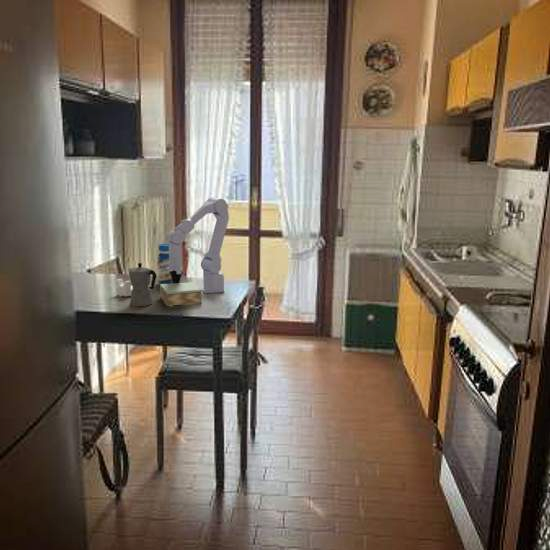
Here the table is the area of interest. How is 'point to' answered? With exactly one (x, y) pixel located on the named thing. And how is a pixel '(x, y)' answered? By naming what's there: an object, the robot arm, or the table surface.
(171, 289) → the lid
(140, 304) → the coffeepot
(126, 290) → the bracket
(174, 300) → the box
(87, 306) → the table surface
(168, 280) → the beverage bottle
